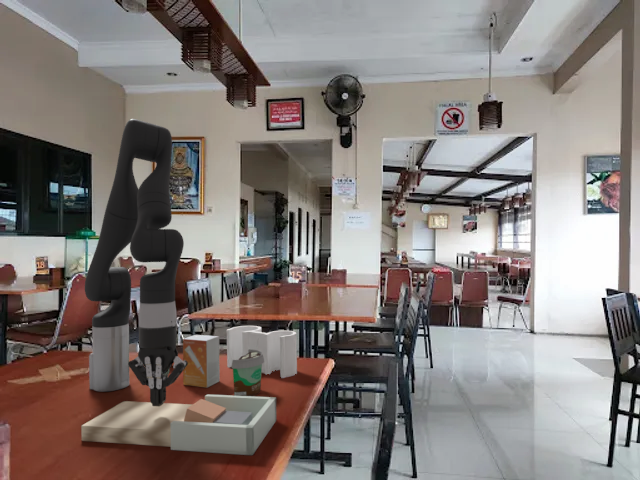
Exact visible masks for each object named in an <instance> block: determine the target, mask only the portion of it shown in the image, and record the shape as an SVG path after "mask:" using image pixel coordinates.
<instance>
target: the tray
mask: <svg viewBox="0 0 640 480" xmlns="http://www.w3.org/2000/svg"><path fill="white" fill-rule="evenodd" d="M204 400H206V401H209V402H211V403H214V404H216V405H219V406H222V407H224V408H226V411H237V412H251V413H252V421H251V422H250V423H249V424H248V425H239V424H221V423H203V422H186V421H173V422H172V423H171V447H170V450H171V451H183V452H184V451H185V452H199V453H213V454H229V455H241V456H243V455H244V456H253V455H254V454H255V452H256V451H257V449H258V448H259V446H260V445H261V444H262V442H263V440H264V439H265V437H266V436H267V435H268V433H269V432H270V430H271V429H272V428H273V426H274V424H276V422H277V397H273V396H270V397H269V396H234V395H229V394H228V395H227V394H206V395H204Z"/></svg>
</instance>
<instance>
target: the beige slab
mask: <svg viewBox="0 0 640 480" xmlns="http://www.w3.org/2000/svg"><path fill="white" fill-rule="evenodd" d="M191 405H193V403H192V404H188V403H185V404H184V403H172V402H164V403H163V404H162V405H161V406H152V403H151V402H147V401H128V400H126V401H125V400H124V401H122V402H120V403H118V404H116V405H115V406H113V407H111V408H110V409H108V410H106V411H104V412H103V413H100V414H98V415H97V416H95V417H94V418H93V419H92V418H91V420H89V421H87V422H86V423H85V422H84V424H81V426H80V427H81V429H80V430H81V441H82V442H97V443H108V444H109V443H111V444H112V443H113V444H126V445H141V446H155V447H170V448H171V423H172V422H173V421H184V418H185V415H186V411H187V408H189V407H190V406H191Z"/></svg>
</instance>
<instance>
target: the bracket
mask: <svg viewBox="0 0 640 480" xmlns="http://www.w3.org/2000/svg"><path fill="white" fill-rule="evenodd" d="M248 349H250V350H258V351H261V352H262V354H263V357H264V363H262V371H261V374H265V375H266V376H268V375H267V374H269V375H271V373H273V372H276V371H280V372H279V373H280V375H279V377H281V379H285V378H289V377H293V376H296V375H297V374H298V360H297V359H298V358H297V357H298V356H297V332H296V331H294V330H293V331H292V330H274V331H269V332H264V331H263V332H262V326H259V325H258V326H257V325H240V326H233V327H231V328H227V329H226V354H227V355H226V359H227V361H226V362H227V366H226V367H227V368H232V363H233V360H239V358H240V357H241V356H244V355H246V354H248ZM275 370H276V371H275ZM272 371H273V372H272ZM295 374H296V375H295Z"/></svg>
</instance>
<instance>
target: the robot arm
mask: <svg viewBox="0 0 640 480" xmlns="http://www.w3.org/2000/svg"><path fill="white" fill-rule="evenodd" d="M121 136H122V137H121V141H120V148H119V151H118V158H117V165H116V168H115V169H116V170H115V175H114V177H113V183H112V186H111V189H110V192H109V193H110V194H109V197H108V199H107V203H106V207H105V210H104V215H103V220H102V225H101V229H100V233H99V238H98V240H97V245H96V248H95V251H94V254H93V256H92V259H91V260H90V261H91V262H90V264H89V266H88V270H87V273H86V277H85V281H84V294H85V296H86V299H88V300H89V301H91V302H107V301H110V305H109V306H107V308H104V310H102V311H99V312H98V313H96V314H94V315H93V316H92V319H91V323H92V324H91V326H92V327H91V329H92V334H91V335H92V353H89V356H88V364H89V365H88V367H89V368H88V370H89V376H88V378H89V390H93V391H95V392H113V391H118V390H121V389H124V388H127V387H128V386H130V369H131V371H132V372H133V374H134V375H135V377H136V378H137V379H138V381H139V383H140V384H141V385H142V386H147V387H148V388H149V396H150V397H149V401H150V402H151V403H152V406H161V405H162V404H163V403H166V400H167V387H169V386H170V385H172V384H174V383H176V380H178V378H179V377H180V375H181V374H183V370H184V369H185V367H186V366H187V365H188V362H187V361H186V360H184V361H183V359H181V358H180V356H179V352H178V349H177V342H178V341H177V339H178V337H177V336H178V334H177V332H178V330H177V329H178V326H177V321H178V316H177V307H176V277H177V271H178V267H179V264H180V260H181V257H182V254H183V250H184V238H183V236H182V234H181V232H180V231H179V230H177V229H173V228H166V227H168V226H169V225H170V224H171V222H172V219H173V218H172V215H173V214H172V207H171V206H172V205H171V196H170V181H171V170H172V152H173V138H172V134H171V131H170V130H169V129H168V128H166V127H164V126H161V125H159V124H154V123H151V122H147V121H143V120H141V119H135V118H131V119H129V120H127V122H126V124H125V126H124V129H123V132H122V135H121ZM135 159H139V160H144V161H147V162H151V163H155V168H154V169H153V170H152V172H151V173H150V174H149V175H148V176H147V177H146V178H145V179H144V180H143V181H142V183H140V186H139V187H138V184H137V182H136V178H135V175H134V170H133V169H134V168H133V166H134V165H133V164H134V160H135ZM164 228H165V229H164ZM128 246H129V251H130V254H131V257H132V258H133V260H136V261H137V262H139V263H163V262H164V263H165V264H164V267H163V268H162V269H160V270H158V271H156V272H151V273H146V274H144V275H142V276H141V278H140V279H139V309H138V345H139V346H138V347H139V351H138V352H137V356H136V357H135V358H134V359H132V360H130V326H129V325H130V322H129V321H130V314H131V303H132V302H131V299H132V298H131V297H132V277H131V273H130V272H129V270H128V268H126V267H124V266H112V264H113V263H114V261H115V260H116V258H117V256H119V254H121V252H122V251H124V249H125V248H127V247H128ZM172 366H173V367H172ZM171 367H172V368H173V370H172V371H171V372H170V368H171Z"/></svg>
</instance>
